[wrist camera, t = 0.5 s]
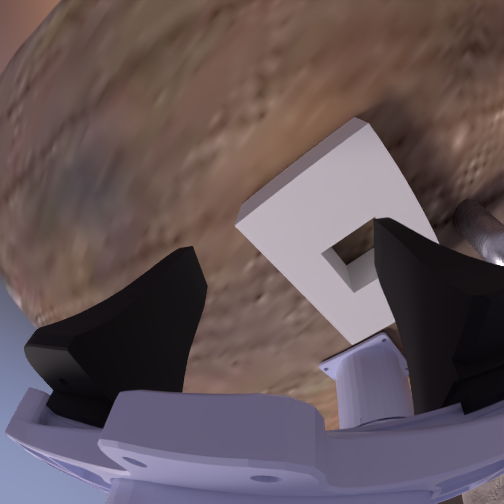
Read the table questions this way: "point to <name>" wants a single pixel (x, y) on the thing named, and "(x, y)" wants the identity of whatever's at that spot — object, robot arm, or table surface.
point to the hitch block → (333, 224)
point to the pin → (481, 231)
